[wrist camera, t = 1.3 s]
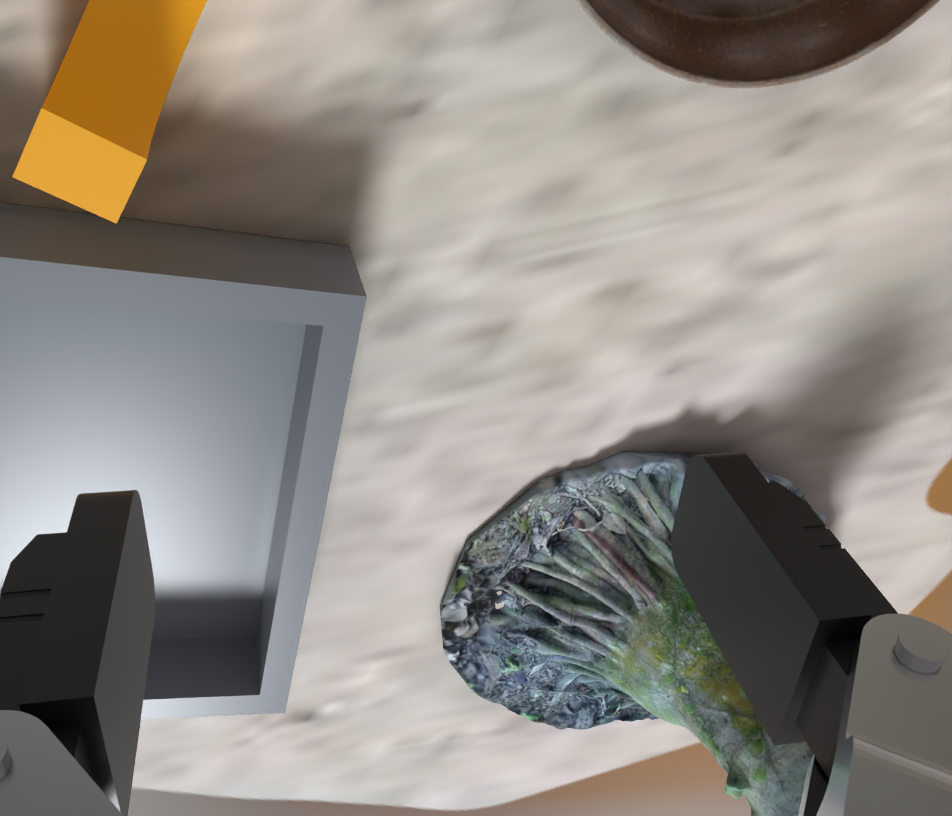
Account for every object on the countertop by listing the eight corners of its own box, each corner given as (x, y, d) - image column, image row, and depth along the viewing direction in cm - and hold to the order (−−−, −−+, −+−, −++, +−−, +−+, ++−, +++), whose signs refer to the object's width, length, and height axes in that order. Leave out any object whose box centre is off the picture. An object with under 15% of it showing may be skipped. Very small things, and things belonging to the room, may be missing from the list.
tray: (-121, 651, 37) (-151, 733, 34) (-182, 179, 27) (-234, 231, 24) (278, 642, 42) (284, 712, 39) (349, 246, 32) (366, 296, 29)
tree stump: (496, 403, 38) (810, 726, 26) (794, 401, 50) (1116, 626, 37) (392, 710, 46) (592, 1074, 34) (669, 649, 57) (898, 905, 45)
